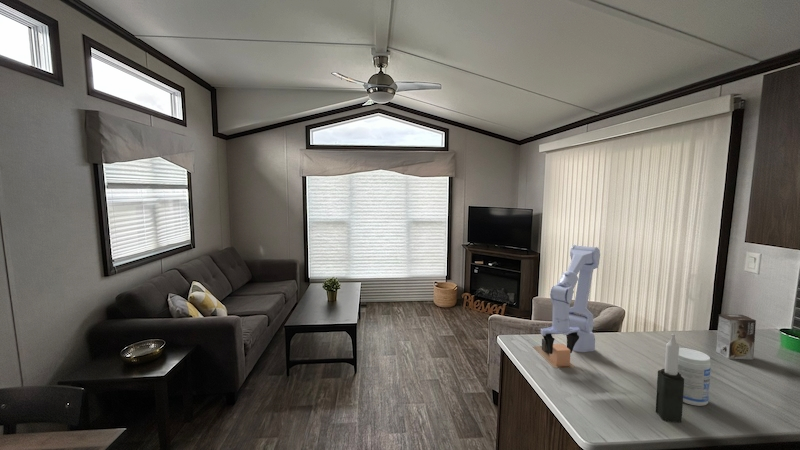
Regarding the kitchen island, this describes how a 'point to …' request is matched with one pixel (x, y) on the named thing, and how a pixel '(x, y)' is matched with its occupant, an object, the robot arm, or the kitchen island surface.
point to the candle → (670, 386)
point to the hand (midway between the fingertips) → (559, 352)
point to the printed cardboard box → (736, 336)
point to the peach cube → (560, 355)
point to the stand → (548, 354)
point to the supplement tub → (694, 376)
